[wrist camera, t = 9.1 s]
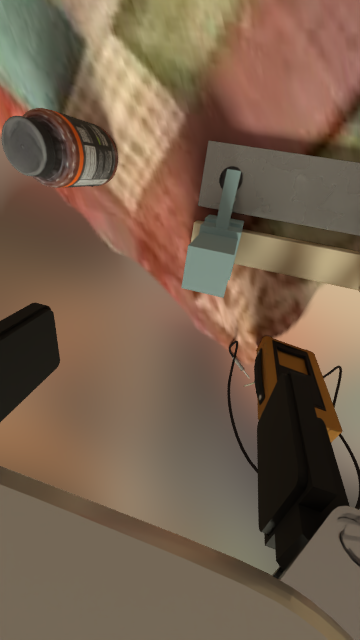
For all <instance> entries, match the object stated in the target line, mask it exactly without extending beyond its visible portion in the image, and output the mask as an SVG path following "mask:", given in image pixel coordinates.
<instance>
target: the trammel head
mask: <svg viewBox="0 0 360 640" xmlns="http://www.w3.org/2000/svg"><path fill="white" fill-rule="evenodd" d="M240 175H241V171H237V170H230V169H227V172H226V177H225V182H224V187H223V192H222V197H221V202H220V206H219V211H218V216H216V215H210V214H209V215H208V216H207V217H206V218H205V221H204V222H203V223H202V224H201V225H200V231H199V235H198V236H197V237H196V238H195V239H194V240H193V241H192V242H191V243H190V244H189V245H188V251H187V257H186V263H185V270H184V276H183V282H182V288H184V289H188V290H193V291H197V292H201V293H206V294H210V295H214V296H218V297H224V293H225V289H226V286H227V282H228V280H230V276H231V272H232V268H233V264H234V261H235V257H236V253H237V249H238V245H239V241H240V238H241V234H242V228H243V224H244V221H242V220H237V219H231V214H232V209H233V205H234V201H235V196H236V192H237V188H238V183H239V179H240Z"/></svg>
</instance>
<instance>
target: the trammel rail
mask: <svg viewBox="0 0 360 640" xmlns="http://www.w3.org/2000/svg"><path fill="white" fill-rule="evenodd" d="M203 222H204V221H199V220H197V221H195V222H194V226H193V232H192V238H191V242H192V241H193V240H194V239H195V238H196V237H197V236H198V235H199V231H200V225H201V224H202V223H203ZM234 264H238V265H243V266H247V267H252V268H257V269H261V270H266V271H271V272H275V273H280V274H285V275H289V276H294V277H299V278H303V279H308V280H313V281H318V282H322V283H327V284H332V285H336V286H341V287H346V288H350V289H355V290H359V292H360V252H359V251H354V250H349V249H343V248H338V247H333V246H328V245H323V244H318V243H312V242H307V241H302V240H297V239H292V238H287V237H281V236H276V235H271V234H266V233H261V232H256V231H250V230H245V229H242V234H241V238H240V241H239V245H238V249H237V253H236V257H235V261H234Z"/></svg>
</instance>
